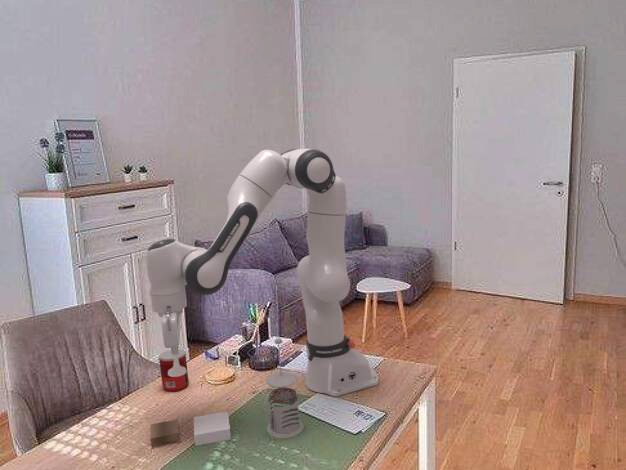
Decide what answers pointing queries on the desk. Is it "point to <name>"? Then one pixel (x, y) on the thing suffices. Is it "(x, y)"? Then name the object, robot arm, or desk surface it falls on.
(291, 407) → the french press
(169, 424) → the walnut block
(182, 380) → the canned food
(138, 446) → the desk surface
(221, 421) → the light block
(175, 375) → the chess piece
